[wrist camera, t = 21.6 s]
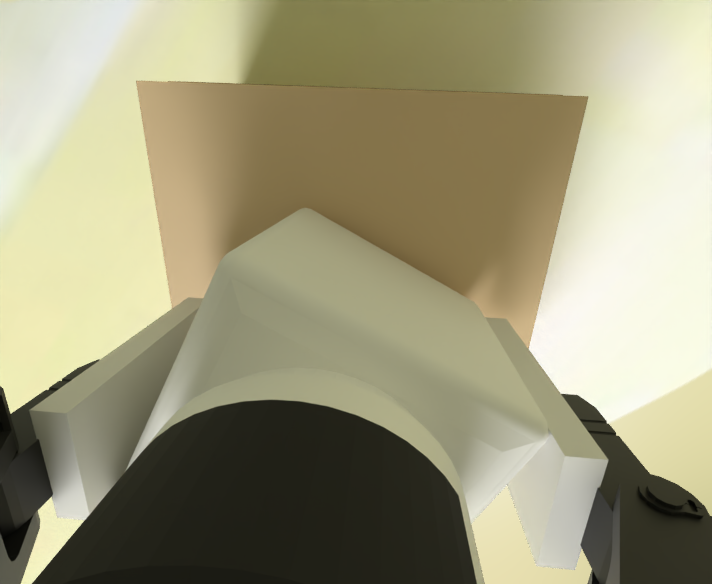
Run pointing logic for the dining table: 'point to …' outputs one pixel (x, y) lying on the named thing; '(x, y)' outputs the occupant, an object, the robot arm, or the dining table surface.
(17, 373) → the dining table surface
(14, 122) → the dining table surface
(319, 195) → the lid
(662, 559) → the robot arm
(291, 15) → the dining table surface
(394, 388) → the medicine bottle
